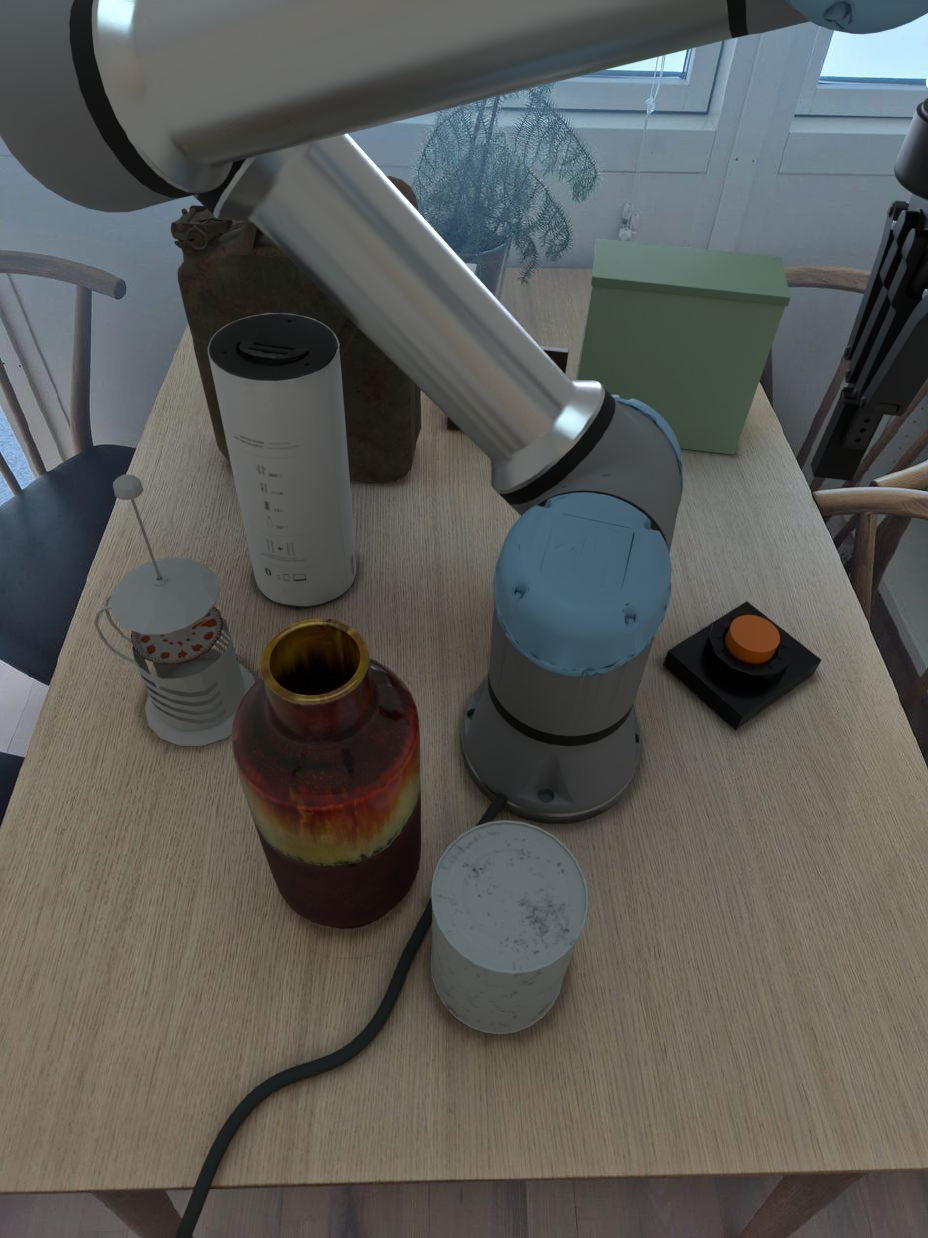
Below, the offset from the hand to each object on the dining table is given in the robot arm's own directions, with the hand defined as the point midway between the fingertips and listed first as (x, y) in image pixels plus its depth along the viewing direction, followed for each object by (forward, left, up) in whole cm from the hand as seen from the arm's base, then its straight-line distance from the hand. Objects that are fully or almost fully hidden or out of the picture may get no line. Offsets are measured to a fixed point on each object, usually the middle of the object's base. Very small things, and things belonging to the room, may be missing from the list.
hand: (830, 472), depth 60 cm
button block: (0, 0, -24) cm, 24 cm away
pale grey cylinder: (-35, -8, -24) cm, 43 cm away
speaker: (-27, +34, -24) cm, 50 cm away
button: (0, 0, -20) cm, 20 cm away
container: (-16, +50, -24) cm, 58 cm away
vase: (-40, +4, -24) cm, 47 cm away
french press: (-43, +26, -24) cm, 56 cm away
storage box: (+21, +33, -23) cm, 46 cm away
